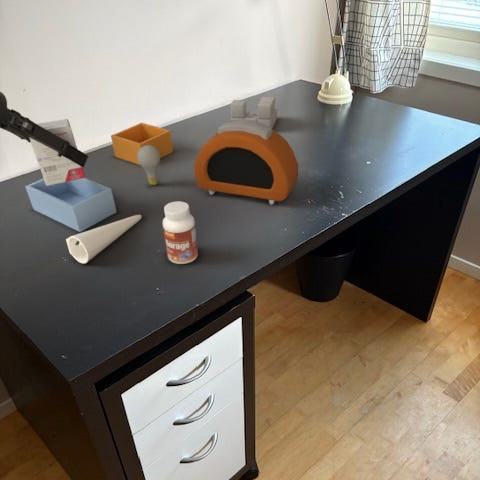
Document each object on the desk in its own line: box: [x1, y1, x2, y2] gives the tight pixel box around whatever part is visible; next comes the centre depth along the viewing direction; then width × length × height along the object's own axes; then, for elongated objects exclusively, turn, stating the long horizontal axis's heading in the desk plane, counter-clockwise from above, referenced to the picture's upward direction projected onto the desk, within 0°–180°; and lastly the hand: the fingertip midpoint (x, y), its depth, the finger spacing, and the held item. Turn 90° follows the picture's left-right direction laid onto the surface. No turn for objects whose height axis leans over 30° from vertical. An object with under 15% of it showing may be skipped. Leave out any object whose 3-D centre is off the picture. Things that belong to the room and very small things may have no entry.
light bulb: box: [137, 145, 161, 186], centre depth 117 cm, size 6×6×10 cm
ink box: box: [29, 118, 86, 186], centre depth 102 cm, size 9×5×12 cm, turn 110°
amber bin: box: [110, 122, 174, 166], centre depth 133 cm, size 12×12×6 cm
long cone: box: [65, 214, 142, 264], centre depth 100 cm, size 6×6×19 cm
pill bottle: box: [162, 200, 199, 265], centre depth 93 cm, size 6×6×11 cm
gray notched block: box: [230, 96, 278, 130], centre depth 146 cm, size 12×12×8 cm
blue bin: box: [24, 177, 117, 233], centre depth 110 cm, size 18×11×6 cm, turn 52°
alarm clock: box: [193, 120, 299, 205], centre depth 110 cm, size 23×9×17 cm, turn 68°
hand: (72, 156), depth 106 cm, fingers closed on ink box, 8 cm apart
